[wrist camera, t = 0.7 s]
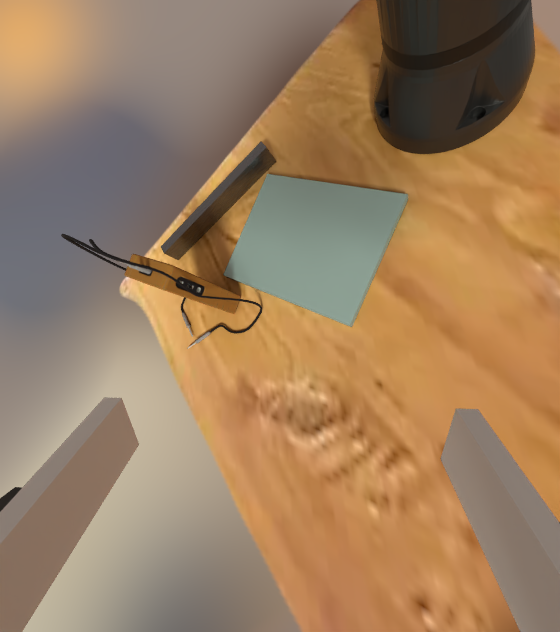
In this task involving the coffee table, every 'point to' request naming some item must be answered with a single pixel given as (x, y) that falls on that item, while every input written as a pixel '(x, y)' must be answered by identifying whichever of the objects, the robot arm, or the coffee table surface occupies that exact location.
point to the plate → (316, 243)
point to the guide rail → (219, 201)
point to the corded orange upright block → (174, 283)
